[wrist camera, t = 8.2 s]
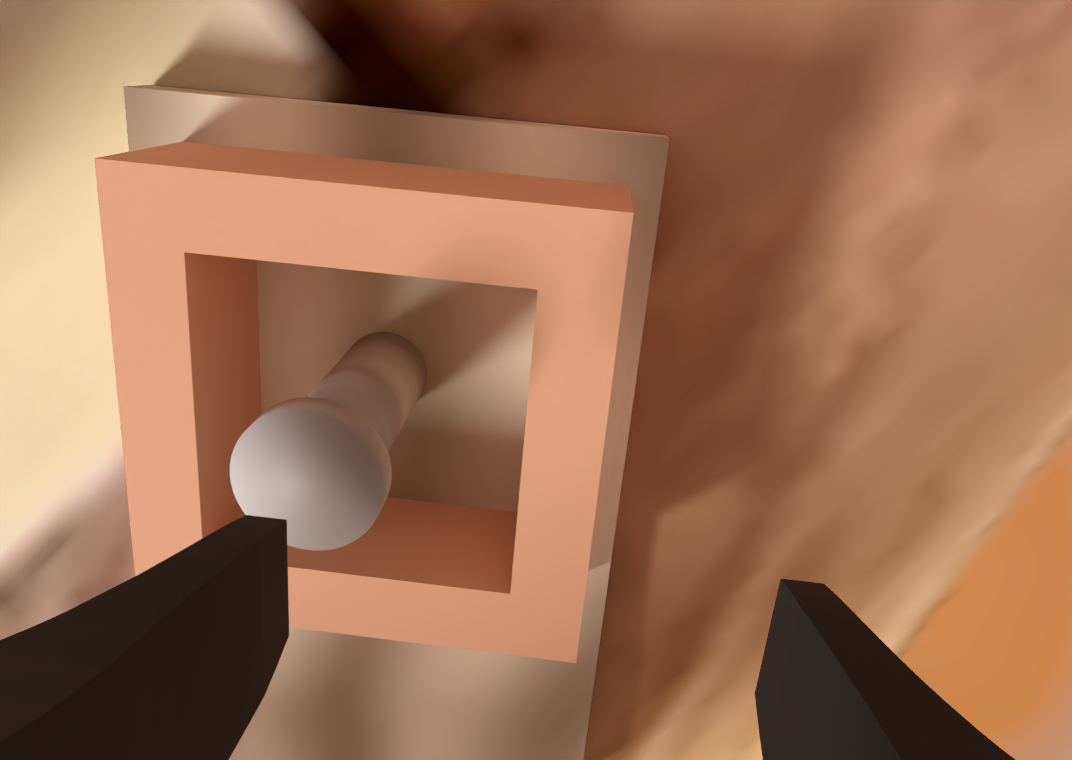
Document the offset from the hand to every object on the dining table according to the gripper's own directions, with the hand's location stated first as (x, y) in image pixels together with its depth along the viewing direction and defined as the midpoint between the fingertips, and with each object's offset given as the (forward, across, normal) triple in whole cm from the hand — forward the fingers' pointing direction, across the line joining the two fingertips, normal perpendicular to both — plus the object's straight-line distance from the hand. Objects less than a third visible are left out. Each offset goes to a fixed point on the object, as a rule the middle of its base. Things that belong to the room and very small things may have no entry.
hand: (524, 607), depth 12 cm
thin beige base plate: (+10, +4, +4) cm, 11 cm away
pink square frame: (+9, +4, 0) cm, 9 cm away
